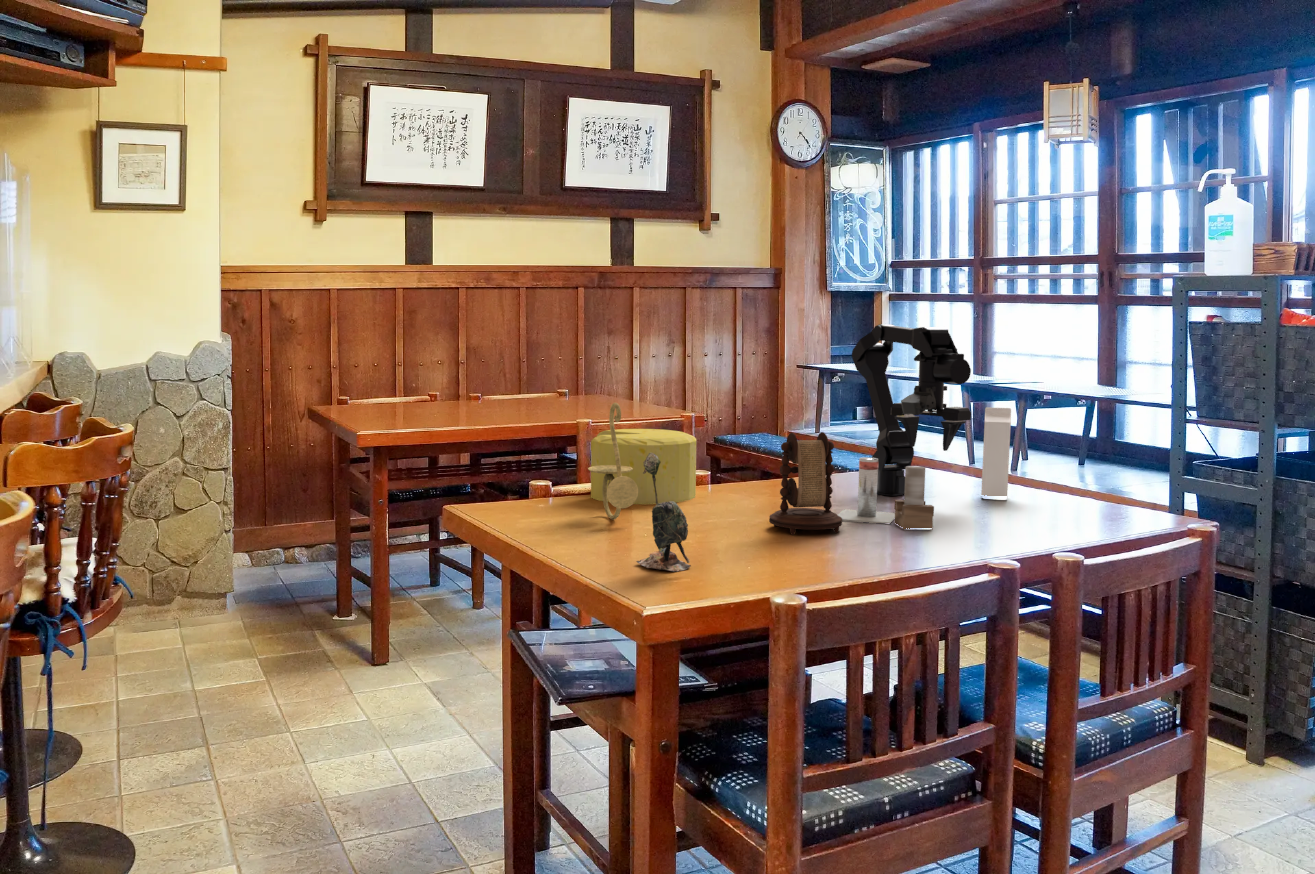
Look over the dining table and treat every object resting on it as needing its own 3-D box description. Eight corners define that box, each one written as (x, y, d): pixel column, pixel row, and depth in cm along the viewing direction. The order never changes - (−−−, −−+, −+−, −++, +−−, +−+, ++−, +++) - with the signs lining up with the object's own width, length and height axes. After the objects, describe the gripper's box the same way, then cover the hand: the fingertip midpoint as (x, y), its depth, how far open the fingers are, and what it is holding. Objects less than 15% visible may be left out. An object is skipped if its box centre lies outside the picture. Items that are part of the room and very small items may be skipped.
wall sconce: (644, 524, 228) (645, 404, 225) (600, 526, 225) (601, 405, 222) (624, 512, 241) (625, 399, 239) (582, 514, 238) (583, 399, 235)
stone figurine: (659, 577, 183) (660, 458, 180) (631, 563, 193) (632, 450, 190) (702, 573, 186) (704, 456, 184) (673, 559, 196) (674, 448, 194)
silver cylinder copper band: (858, 513, 241) (860, 456, 240) (877, 514, 240) (879, 458, 239) (855, 516, 238) (857, 459, 236) (874, 518, 236) (877, 460, 235)
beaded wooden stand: (785, 538, 216) (787, 437, 214) (758, 524, 230) (760, 429, 228) (854, 535, 220) (857, 435, 218) (823, 521, 234) (826, 428, 232)
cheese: (565, 493, 266) (566, 432, 265) (647, 483, 284) (647, 425, 282) (635, 508, 247) (636, 442, 245) (718, 497, 264) (719, 434, 263)
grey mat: (844, 511, 247) (844, 509, 246) (898, 515, 242) (898, 513, 242) (833, 520, 235) (833, 518, 235) (890, 524, 231) (890, 522, 231)
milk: (981, 495, 270) (984, 406, 268) (1007, 497, 268) (1011, 407, 266) (981, 499, 264) (984, 408, 262) (1007, 501, 263) (1011, 408, 260)
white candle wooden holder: (893, 523, 233) (895, 464, 231) (921, 523, 233) (924, 464, 232) (904, 530, 225) (906, 470, 224) (933, 530, 225) (935, 470, 224)
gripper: (876, 380, 256) (874, 447, 258) (944, 385, 242) (941, 455, 244) (906, 379, 263) (904, 443, 265) (973, 383, 249) (970, 451, 251)
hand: (928, 448), depth 256 cm, fingers open, 9 cm apart
